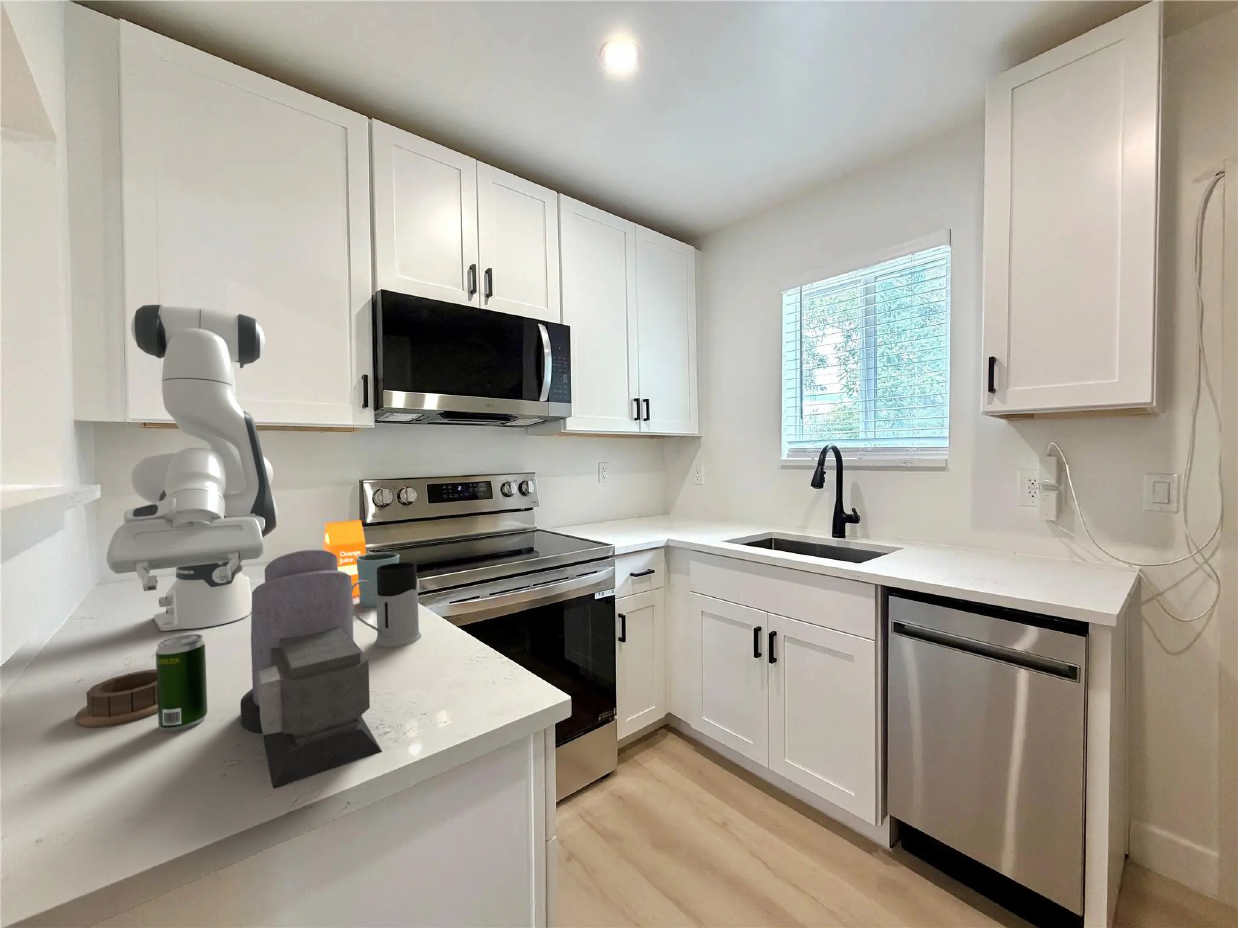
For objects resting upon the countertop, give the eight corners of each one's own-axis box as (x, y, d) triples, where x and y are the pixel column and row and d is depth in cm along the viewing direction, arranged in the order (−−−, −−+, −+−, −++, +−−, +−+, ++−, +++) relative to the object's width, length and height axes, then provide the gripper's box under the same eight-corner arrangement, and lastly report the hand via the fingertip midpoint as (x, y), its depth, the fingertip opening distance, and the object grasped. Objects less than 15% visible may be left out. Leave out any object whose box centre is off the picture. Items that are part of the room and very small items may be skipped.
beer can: (199, 728, 73) (196, 643, 73) (151, 736, 71) (147, 649, 71) (213, 710, 78) (210, 631, 78) (168, 717, 76) (165, 636, 76)
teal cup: (370, 596, 140) (369, 552, 139) (407, 596, 139) (406, 551, 139) (348, 608, 129) (347, 560, 129) (388, 608, 129) (387, 559, 129)
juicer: (238, 700, 82) (232, 544, 81) (351, 671, 92) (347, 533, 91) (249, 798, 58) (242, 580, 57) (400, 746, 68) (395, 559, 67)
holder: (430, 636, 108) (428, 564, 108) (364, 659, 97) (361, 579, 96) (405, 628, 113) (403, 560, 113) (339, 650, 102) (337, 573, 101)
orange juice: (367, 594, 142) (365, 521, 141) (330, 600, 136) (328, 524, 136) (359, 588, 148) (357, 518, 147) (324, 594, 142) (322, 521, 142)
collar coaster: (65, 713, 78) (64, 688, 78) (166, 682, 88) (166, 660, 88) (90, 735, 71) (89, 708, 71) (196, 699, 82) (196, 675, 82)
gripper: (265, 524, 100) (266, 584, 92) (119, 535, 88) (106, 605, 80) (264, 502, 96) (265, 563, 88) (111, 511, 85) (97, 582, 77)
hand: (188, 583), depth 84 cm, fingers open, 8 cm apart
